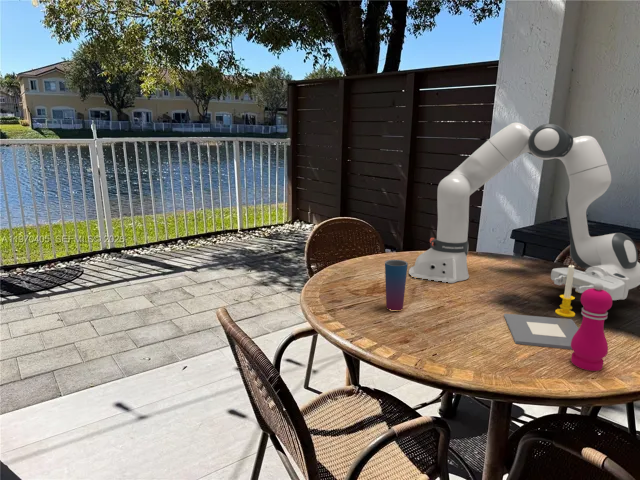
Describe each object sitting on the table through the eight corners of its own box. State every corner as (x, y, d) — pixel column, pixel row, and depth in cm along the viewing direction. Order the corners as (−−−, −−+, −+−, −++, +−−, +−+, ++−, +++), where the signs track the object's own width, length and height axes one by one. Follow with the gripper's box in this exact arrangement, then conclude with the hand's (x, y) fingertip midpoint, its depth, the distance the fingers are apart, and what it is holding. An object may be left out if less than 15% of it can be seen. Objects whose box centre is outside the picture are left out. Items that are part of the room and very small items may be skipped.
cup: (405, 314, 127) (407, 266, 124) (382, 312, 128) (384, 265, 125) (405, 305, 134) (407, 260, 130) (384, 304, 135) (385, 259, 131)
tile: (515, 343, 108) (516, 340, 108) (503, 316, 125) (504, 313, 125) (594, 351, 104) (595, 348, 104) (571, 321, 121) (571, 318, 121)
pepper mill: (561, 357, 101) (572, 278, 97) (590, 355, 102) (602, 277, 97) (582, 373, 94) (595, 288, 90) (612, 371, 95) (627, 287, 90)
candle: (567, 318, 123) (575, 267, 120) (551, 312, 128) (557, 263, 124) (578, 315, 125) (586, 265, 122) (562, 309, 130) (568, 260, 126)
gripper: (570, 261, 138) (538, 265, 133) (635, 280, 119) (601, 286, 114) (568, 279, 139) (536, 284, 134) (631, 301, 121) (597, 308, 116)
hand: (566, 285), depth 124 cm, fingers open, 6 cm apart
